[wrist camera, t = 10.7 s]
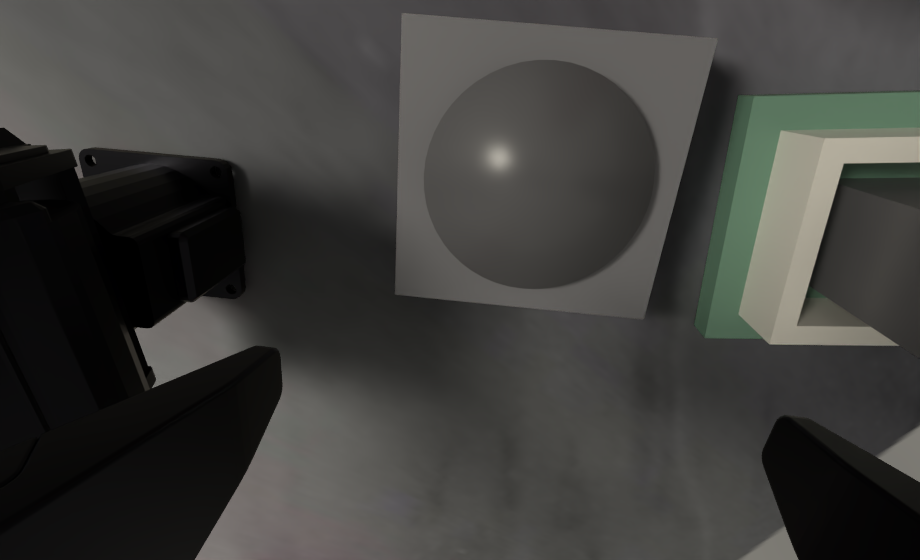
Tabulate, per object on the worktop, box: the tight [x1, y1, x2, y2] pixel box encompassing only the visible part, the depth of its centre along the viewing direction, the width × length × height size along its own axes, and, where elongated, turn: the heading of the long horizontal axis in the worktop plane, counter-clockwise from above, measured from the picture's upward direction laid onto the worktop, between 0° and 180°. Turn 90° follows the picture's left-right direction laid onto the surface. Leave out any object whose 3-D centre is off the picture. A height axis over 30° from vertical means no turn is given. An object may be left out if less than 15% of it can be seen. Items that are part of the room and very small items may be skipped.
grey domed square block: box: [395, 13, 718, 320], centre depth 18 cm, size 10×10×3 cm
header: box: [694, 91, 920, 346], centre depth 18 cm, size 10×10×4 cm
